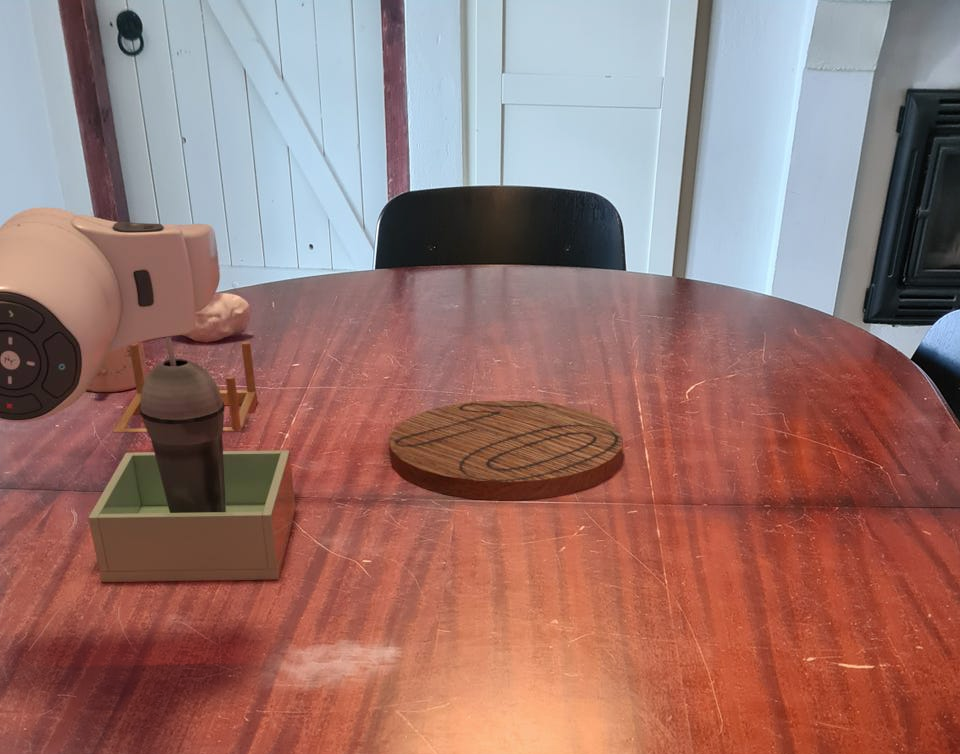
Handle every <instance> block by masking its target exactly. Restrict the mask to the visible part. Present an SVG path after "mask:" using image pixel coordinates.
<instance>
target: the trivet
mask: <svg viewBox="0 0 960 754" xmlns="http://www.w3.org/2000/svg"><path fill="white" fill-rule="evenodd" d="M623 441H624V437H623V435H622V433H621V432H620V431H619V429H618V428H617V426H616V425H614V424H613V423H611V422H610V421H608V420H607V419H606V418H603V417H601V416H599V415H596V414H594V413H592V412H588V411H586V410H583V409H578V408H575V407H571V406H566V405H562V404H556V403H548V402H541V401H532V400H506V399H505V400H484V401H483V400H481V401H472V402H465V403H464V402H463V403H457V404H450V405H446V406H442V407H437V408H433V409H430V410H425V411H423V412H420V413H419V414H416V415H413V416H411V417H408V418H407V419H405V420H404V421H403V422H401V423H400V424H399V425H397V426H396V427H394V428H393V430H392V432H391V434H390V435H389V438H388V449H389V461H390V465H391V468H392V469H393V470H394V471H395V472H396V473H397V474H398V476H400V477H401V478H402V479H404V480H405V481H408V482H410V483H412V484H413V485H416V486H418V487H420V488H423V489H426V490H428V491H433V492H437V493H440V494H443V495H447V496H452V497H453V496H454V497H458V498H459V497H460V498H466V499H473V500H491V501H521V500H537V499H538V500H539V499H540V500H541V499H546V498H552V497H558V496H563V495H564V496H565V495H571V494H573V493H576V492H579V491H582V490H585V489H589V488H592V487H595V486H597V485H598V484H600V483H602V482H604V481H606V480H607V479H609V478H612V476H614V474H615V473H616V472H617V471H618V470H619V468H620V467H621V466H622V465H621V464H622V455H623Z"/></svg>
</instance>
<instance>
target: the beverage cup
mask: <svg viewBox="0 0 960 754" xmlns="http://www.w3.org/2000/svg"><path fill="white" fill-rule="evenodd" d="M164 339H165V344H166V345H165V346H166V349H167V355H168V359H167V360H165V361H163V362H162V361H161V362H160V363H159V364H157V365H156V366H155V367H153V368H152V369H151V370H150V372H149V373H148V376H147V378H146V379H145V382H144V385H143V388H142V392H141V402H140V403H141V409H140V415H139V416H141V417H142V419H143V424H144V428H146V430H147V432H146V433H147V435H148V437H149V439H150V441H151V445H152V450H153V452H154V453H155V457H156V460H157V464H158V468H159V472H160V476H161V480H162V484H163V488H164V492H165V496H166V499H167V503H168V507H169V511H170V513H205V512H226V503H225V483H224V463H223V451H224V445H223V444H224V443H223V442H224V441H223V434H224V433H223V432H224V431H223V427H224V421H225V413H224V412H225V407H226V405H224V403H223V401H222V398H221V394H220V391H219V390H220V388H219V387H218V385H217V383H216V381H215V380H214V378H213V377H212V376H211V374H209V372H208V371H207V370H206V369H205V368H204V367H203V366H202V365H199V364H197V363H195V362H194V361H191V360H189V359H188V360H187V359H184V358H176V357H175V356H176V355H175V351H174V345H173V340H172V337H167V338H164Z"/></svg>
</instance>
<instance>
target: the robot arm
mask: <svg viewBox="0 0 960 754" xmlns="http://www.w3.org/2000/svg"><path fill="white" fill-rule="evenodd" d="M219 267H220V261H219V252H218V246H217V239H216V233H215V229H214V227H212V225H209V224H205V223H191V224H161V223H148V222H147V223H144V222H142V223H141V222H127V221H113V220H108V219H104V218H99V217H95V216H92V215H88V214H87V215H85V214H76V213H73V212H71V211H68V210H66V209H62V208H57V207H48V206H42V207H33V208H29V209H26V210H22V211H20V212H18V213H16V214H14V215H13V216H11V217H10V218H8V219H7V220H6V221H5V222H4V223H3V224H1V226H0V421H2V422H9V423H31V422H34V421H40V420H43V419H46V418H49V417H51V416H54V415H56V414H58V413H60V412H63V411H64V410H66V409H68V408H69V407H71V406H72V405H74V404H75V403H76V402H77V401H78V400H79V399H81V397H82V396H83V395H84V394H85V393H86V391H88V390H87V389H88V387H89V386H90V385H91V383H92V382H93V380H94V378H95V377H96V375H97V373H98V371H99V370H100V368H101V365H102V363H103V361H104V359H105V357H106V354H108V353H111V352H113V351H116V350H118V349H121V348H123V347H126V346H129V345H132V344H135V343H140V342H143V343H145V342H151V341H154V340H161V339H165V338H167V337H171V338H172V337H176V336H181V335H182V334H187V333H189V332H191V331H193V330H194V328H195V312H198V311H200V310H202V309H203V308H205V307H206V306H207V305H208V304H209V303H210V301H211V300H212V298H213V296H214V294H215V292H216V293H217V290H218V288H219V284H220V280H221V273H220V272H221V271H220V270H221V269H220V270H219ZM182 336H183V335H182Z"/></svg>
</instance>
